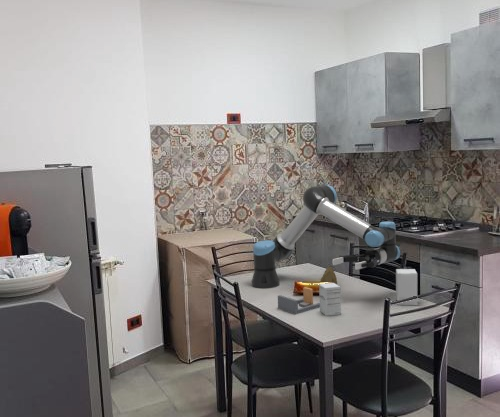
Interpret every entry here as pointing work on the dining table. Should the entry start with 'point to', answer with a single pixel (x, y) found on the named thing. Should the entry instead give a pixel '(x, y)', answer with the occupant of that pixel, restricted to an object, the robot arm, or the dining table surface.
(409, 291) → the supplement box
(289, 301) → the grey l-shaped block
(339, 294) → the supplement box
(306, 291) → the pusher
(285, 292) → the dining table surface
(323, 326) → the dining table surface
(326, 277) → the rock
